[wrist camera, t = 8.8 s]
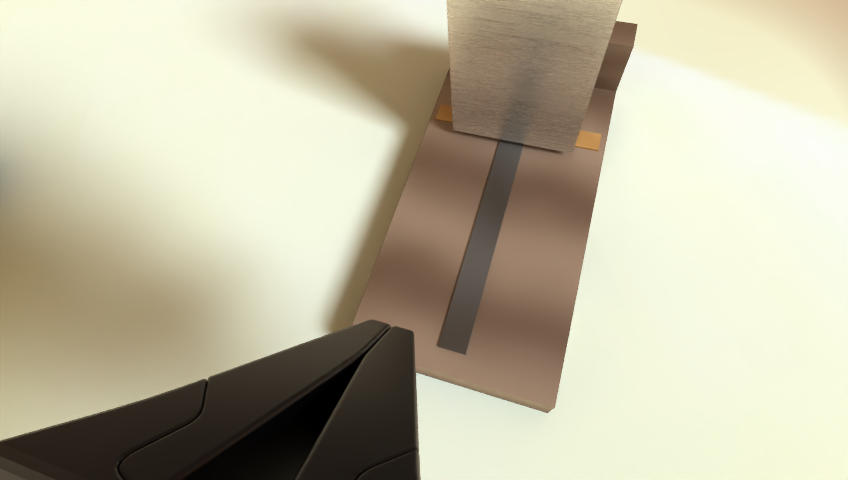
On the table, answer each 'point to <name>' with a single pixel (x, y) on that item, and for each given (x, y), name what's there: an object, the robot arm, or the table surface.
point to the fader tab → (526, 66)
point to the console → (494, 248)
